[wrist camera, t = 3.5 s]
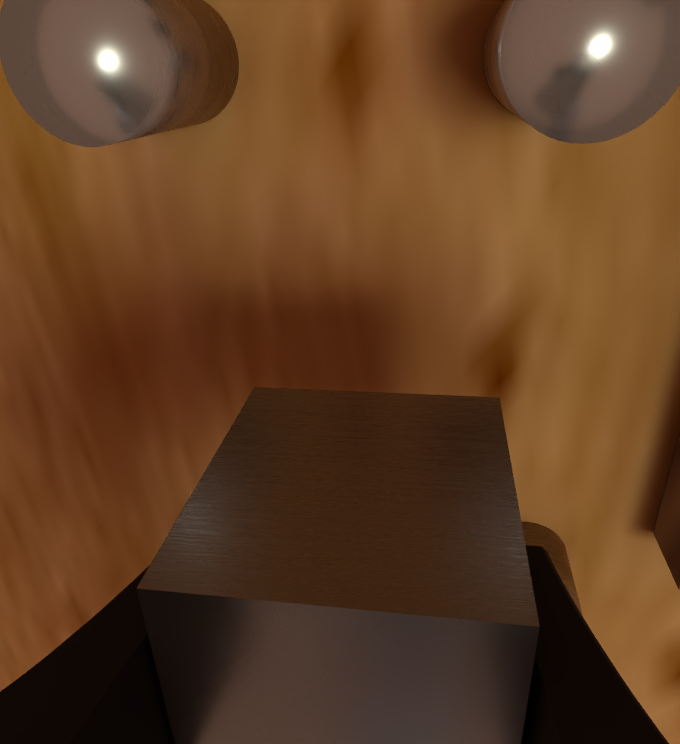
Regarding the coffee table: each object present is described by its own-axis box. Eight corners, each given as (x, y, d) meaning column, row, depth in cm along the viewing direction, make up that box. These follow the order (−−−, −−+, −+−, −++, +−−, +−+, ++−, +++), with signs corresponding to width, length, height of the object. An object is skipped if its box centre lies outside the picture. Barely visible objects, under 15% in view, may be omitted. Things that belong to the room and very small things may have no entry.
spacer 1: (244, 124, 16) (166, 146, 11) (136, 125, 16) (22, 147, 12) (232, -11, 15) (139, -45, 10) (115, -6, 15) (-23, -36, 11)
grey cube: (481, 585, 13) (502, 858, 8) (273, 566, 13) (191, 811, 9) (499, 397, 11) (540, 626, 6) (254, 387, 11) (136, 588, 7)
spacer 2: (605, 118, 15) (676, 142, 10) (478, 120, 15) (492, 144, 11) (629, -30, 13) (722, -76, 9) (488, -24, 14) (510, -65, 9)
